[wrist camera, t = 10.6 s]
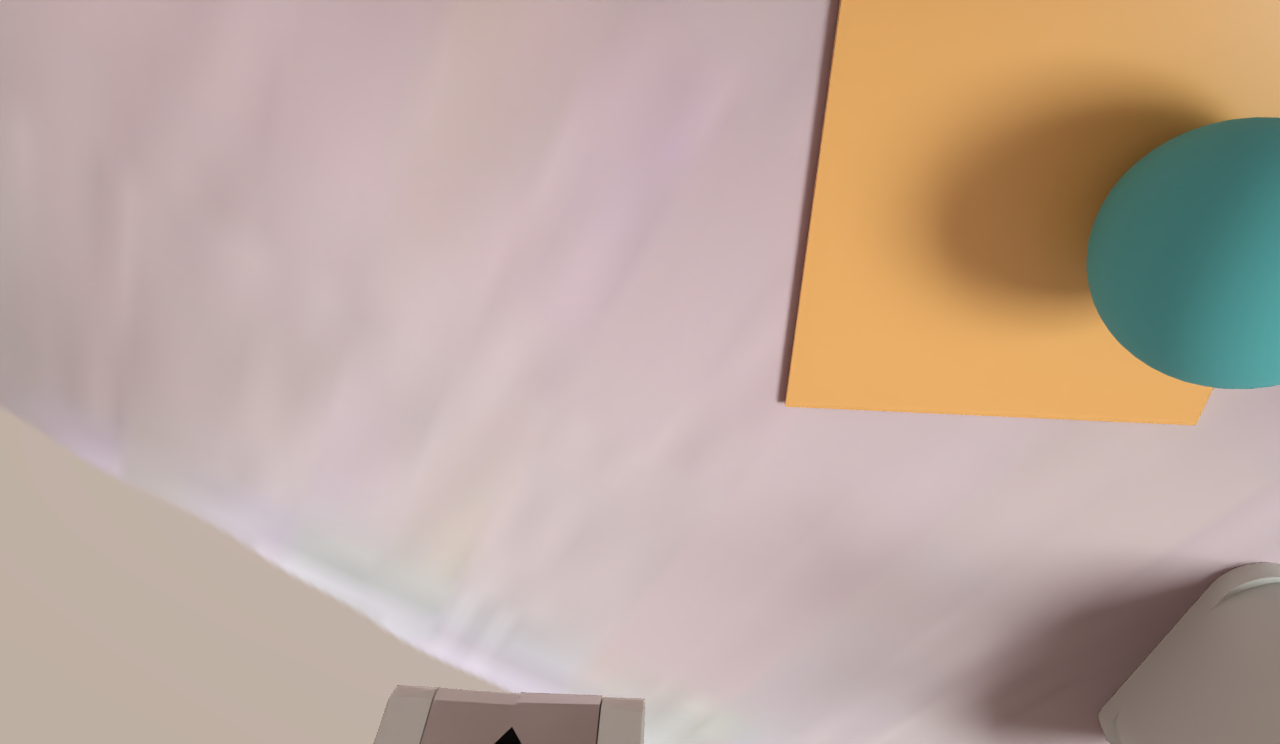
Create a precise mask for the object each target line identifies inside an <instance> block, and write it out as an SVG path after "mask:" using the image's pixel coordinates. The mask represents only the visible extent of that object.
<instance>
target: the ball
mask: <svg viewBox="0 0 1280 744" xmlns="http://www.w3.org/2000/svg"><path fill="white" fill-rule="evenodd" d="M1086 270H1087V278H1088V285H1089V289H1090V293H1091V296H1092V300H1093V303H1094V305H1095V307H1096V309H1097V311H1098V313H1099V316H1100V318H1101V319H1102V321H1103V322H1104V324H1105V325H1106V327H1107V329H1108V330H1109V332H1110V333H1111V334H1112V335H1113V336H1114V337H1115V338H1116V340H1117V341H1118V342H1119V343H1120V344H1121V345H1122V346H1123V347H1124V348H1125V349H1127V350H1128V351H1129V352H1130V353H1131V354H1132V355H1133V356H1135V357H1136V358H1138V359H1139V360H1141V361H1142V362H1144V363H1145V364H1147V365H1148V366H1150V367H1151V368H1153V369H1155V370H1157V371H1159V372H1161V373H1163V374H1165V375H1167V376H1170V377H1173V378H1176V379H1179V380H1181V381H1184V382H1188V383H1192V384H1197V385H1201V386H1206V387H1214V388H1223V389H1252V388H1262V387H1271V386H1275V385H1280V118H1277V117H1252V118H1242V119H1232V120H1226V121H1222V122H1217V123H1212V124H1208V125H1205V126H1202V127H1199V128H1196V129H1193V130H1190V131H1188V132H1186V133H1183V134H1181V135H1179V136H1177V137H1175V138H1172V139H1170V140H1169V141H1167V142H1165V143H1164V144H1162V145H1160V146H1159V147H1157V148H1155V149H1154V150H1152V151H1151V152H1150V153H1148V154H1147V155H1146V156H1144V157H1143V158H1142V159H1140V160H1139V161H1138V162H1137V163H1135V164H1134V165H1133V166H1132V167H1131V168H1130V169H1129V170H1128V171H1127V172H1126V173H1125V174H1124V175H1123V176H1122V177H1121V178H1120V180H1119V181H1118V182H1117V183H1116V185H1115V186H1114V187H1113V188H1112V190H1111V191H1110V192H1109V194H1108V196H1107V197H1106V199H1105V201H1104V202H1103V204H1102V205H1101V207H1100V210H1099V212H1098V214H1097V216H1096V218H1095V221H1094V223H1093V227H1092V230H1091V233H1090V237H1089V241H1088V248H1087V261H1086Z"/></svg>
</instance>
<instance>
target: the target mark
mask: <svg viewBox="0 0 1280 744" xmlns="http://www.w3.org/2000/svg"><path fill="white" fill-rule="evenodd" d="M1252 117H1277V118H1280V0H840V3H839V11H838V18H837V25H836V32H835V40H834V47H833V54H832V62H831V69H830V76H829V84H828V91H827V98H826V106H825V113H824V120H823V127H822V135H821V142H820V149H819V157H818V164H817V171H816V179H815V186H814V193H813V201H812V208H811V215H810V223H809V230H808V237H807V244H806V252H805V259H804V266H803V274H802V281H801V288H800V296H799V303H798V310H797V318H796V325H795V332H794V339H793V347H792V354H791V361H790V369H789V376H788V383H787V391H786V398H785V407H807V408H829V409H851V410H872V411H894V412H916V413H938V414H960V415H981V416H1003V417H1025V418H1047V419H1069V420H1091V421H1112V422H1134V423H1156V424H1178V425H1196V424H1197V421H1198V419H1199V417H1200V415H1201V413H1202V411H1203V409H1204V407H1205V404H1206V402H1207V400H1208V398H1209V396H1210V394H1211V392H1212V390H1213V388H1214V387H1206V386H1201V385H1197V384H1192V383H1188V382H1184V381H1181V380H1179V379H1176V378H1173V377H1170V376H1167V375H1165V374H1163V373H1161V372H1159V371H1157V370H1155V369H1153V368H1151V367H1150V366H1148V365H1147V364H1145V363H1144V362H1142V361H1141V360H1139V359H1138V358H1136V357H1135V356H1133V355H1132V354H1131V353H1130V352H1129V351H1128V350H1127V349H1125V348H1124V347H1123V346H1122V345H1121V344H1120V343H1119V342H1118V341H1117V340H1116V338H1115V337H1114V336H1113V335H1112V334H1111V333H1110V332H1109V330H1108V329H1107V327H1106V325H1105V324H1104V322H1103V321H1102V319H1101V318H1100V316H1099V313H1098V311H1097V309H1096V307H1095V305H1094V303H1093V300H1092V296H1091V293H1090V289H1089V285H1088V278H1087V270H1086V261H1087V248H1088V241H1089V237H1090V233H1091V230H1092V227H1093V223H1094V221H1095V218H1096V216H1097V214H1098V212H1099V210H1100V207H1101V205H1102V204H1103V202H1104V201H1105V199H1106V197H1107V196H1108V194H1109V192H1110V191H1111V190H1112V188H1113V187H1114V186H1115V185H1116V183H1117V182H1118V181H1119V180H1120V178H1121V177H1122V176H1123V175H1124V174H1125V173H1126V172H1127V171H1128V170H1129V169H1130V168H1131V167H1132V166H1133V165H1134V164H1135V163H1137V162H1138V161H1139V160H1140V159H1142V158H1143V157H1144V156H1146V155H1147V154H1148V153H1150V152H1151V151H1152V150H1154V149H1155V148H1157V147H1159V146H1160V145H1162V144H1164V143H1165V142H1167V141H1169V140H1170V139H1172V138H1175V137H1177V136H1179V135H1181V134H1183V133H1186V132H1188V131H1190V130H1193V129H1196V128H1199V127H1202V126H1205V125H1208V124H1212V123H1217V122H1222V121H1226V120H1232V119H1242V118H1252Z"/></svg>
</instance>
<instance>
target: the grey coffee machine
mask: <svg viewBox="0 0 1280 744" xmlns="http://www.w3.org/2000/svg"><path fill="white" fill-rule="evenodd" d="M1098 719H1099V723H1100V725H1101V727H1102V730H1103V732H1104V734H1105V737H1106V739H1107V740H1108V742H1110V743H1111V744H1280V564H1276V563H1267V562H1261V563H1252V564H1247V565H1243V566H1240V567H1237V568H1234V569H1232V570H1230V571H1228V572H1226V573H1224V574H1223V575H1221V576H1220V577H1218V578H1217V579H1216V580H1215V581H1214V582H1213V583H1212V584H1211V585H1210V586H1209V587H1208V588H1207V590H1206V591H1205V592H1204V593H1203V594H1202V595H1201V596H1200V598H1199V599H1198V600H1197V601H1196V602H1195V603H1194V604H1193V605H1192V607H1191V608H1190V609H1189V610H1188V611H1187V612H1186V613H1185V615H1184V616H1183V617H1182V618H1181V619H1180V620H1179V621H1178V622H1177V624H1176V625H1175V626H1174V627H1173V628H1172V629H1171V630H1170V632H1169V633H1168V634H1167V635H1166V636H1165V637H1164V638H1163V640H1162V641H1161V642H1160V643H1159V644H1158V645H1157V646H1156V647H1155V649H1154V650H1153V651H1152V652H1151V653H1150V654H1149V655H1148V657H1147V658H1146V659H1145V660H1144V661H1143V662H1142V663H1141V664H1140V666H1139V667H1138V668H1137V669H1136V670H1135V671H1134V672H1133V674H1132V675H1131V676H1130V677H1129V678H1128V679H1127V680H1126V681H1125V683H1124V684H1123V685H1122V686H1121V687H1120V688H1119V689H1118V691H1117V692H1116V693H1115V694H1114V695H1113V696H1112V697H1111V698H1110V700H1109V701H1108V702H1107V703H1106V704H1105V705H1104V706H1103V708H1102V709H1101V711H1100V713H1099V717H1098Z"/></svg>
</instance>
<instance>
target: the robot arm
mask: <svg viewBox="0 0 1280 744" xmlns="http://www.w3.org/2000/svg"><path fill="white" fill-rule="evenodd" d="M644 724H645V699H642V698H614V697H603V698H602V696H601V695H575V694H550V693H525V692H521V693H508V692H492V691H477V690H462V689H448V688H440V687H425V686H405V685H397V687H396V688H395V690H394V691H393V693H392V694H391V696H390V697H389V699H388V702H387V705H386V708H385V711H384V714H383V717H382V720H381V723H380V726H379V729H378V732H377V735H376V738H375V741H374V744H644Z"/></svg>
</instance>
